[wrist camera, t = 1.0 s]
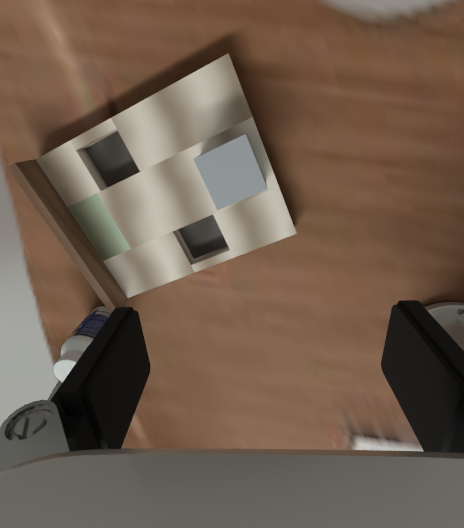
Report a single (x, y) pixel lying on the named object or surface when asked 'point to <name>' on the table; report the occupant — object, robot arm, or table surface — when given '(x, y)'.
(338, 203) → the table surface
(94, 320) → the pill bottle
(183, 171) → the board
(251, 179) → the block
